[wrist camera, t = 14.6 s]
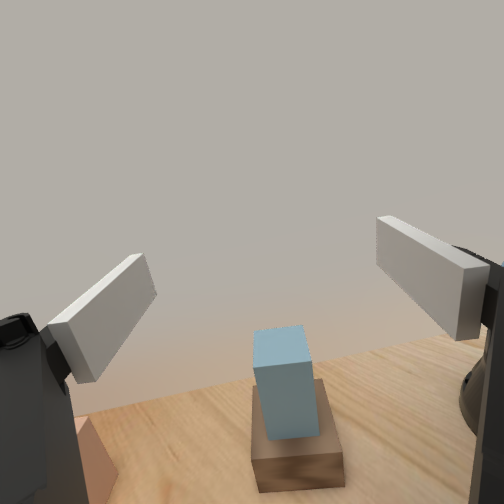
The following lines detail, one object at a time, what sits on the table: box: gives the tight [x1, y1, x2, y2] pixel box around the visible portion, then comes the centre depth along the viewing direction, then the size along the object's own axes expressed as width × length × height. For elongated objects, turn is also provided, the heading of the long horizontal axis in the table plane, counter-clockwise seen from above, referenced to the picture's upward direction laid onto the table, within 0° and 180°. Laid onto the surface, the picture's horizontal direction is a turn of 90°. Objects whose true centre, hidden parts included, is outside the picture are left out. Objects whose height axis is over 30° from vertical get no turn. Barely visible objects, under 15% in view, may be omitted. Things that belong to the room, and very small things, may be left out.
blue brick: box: [253, 325, 320, 440], centre depth 32 cm, size 6×6×11 cm
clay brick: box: [74, 417, 118, 504], centre depth 32 cm, size 6×6×11 cm
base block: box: [251, 379, 345, 493], centre depth 35 cm, size 10×10×6 cm
